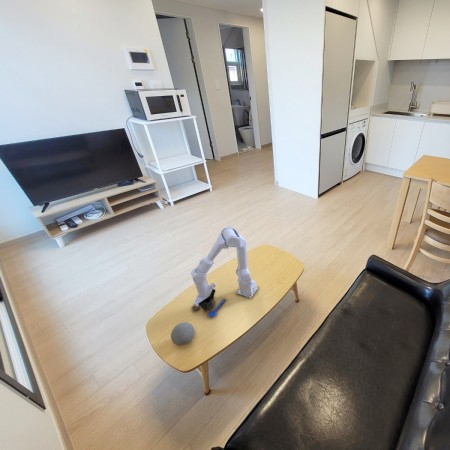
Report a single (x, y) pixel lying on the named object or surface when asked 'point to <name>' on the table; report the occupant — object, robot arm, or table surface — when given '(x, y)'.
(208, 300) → the dark metal cup
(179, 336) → the decorative ball
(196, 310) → the wooden spoon
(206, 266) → the robot arm
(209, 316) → the blue spoon
